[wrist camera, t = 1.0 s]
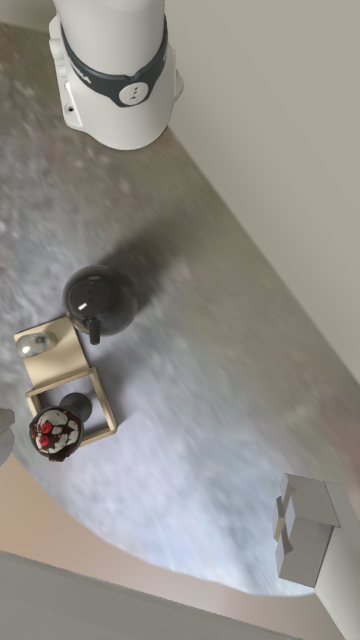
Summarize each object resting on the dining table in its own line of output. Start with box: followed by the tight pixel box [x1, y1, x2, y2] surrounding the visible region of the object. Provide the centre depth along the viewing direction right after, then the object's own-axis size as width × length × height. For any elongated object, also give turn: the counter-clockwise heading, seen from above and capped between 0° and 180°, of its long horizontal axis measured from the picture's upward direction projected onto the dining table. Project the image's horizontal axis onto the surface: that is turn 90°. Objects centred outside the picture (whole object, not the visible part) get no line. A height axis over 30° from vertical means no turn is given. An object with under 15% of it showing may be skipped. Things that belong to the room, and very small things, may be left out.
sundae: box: [29, 393, 91, 462], centre depth 45 cm, size 7×7×15 cm
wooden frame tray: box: [14, 317, 118, 448], centre depth 47 cm, size 19×10×8 cm, turn 20°
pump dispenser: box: [62, 265, 139, 345], centre depth 44 cm, size 10×10×15 cm
